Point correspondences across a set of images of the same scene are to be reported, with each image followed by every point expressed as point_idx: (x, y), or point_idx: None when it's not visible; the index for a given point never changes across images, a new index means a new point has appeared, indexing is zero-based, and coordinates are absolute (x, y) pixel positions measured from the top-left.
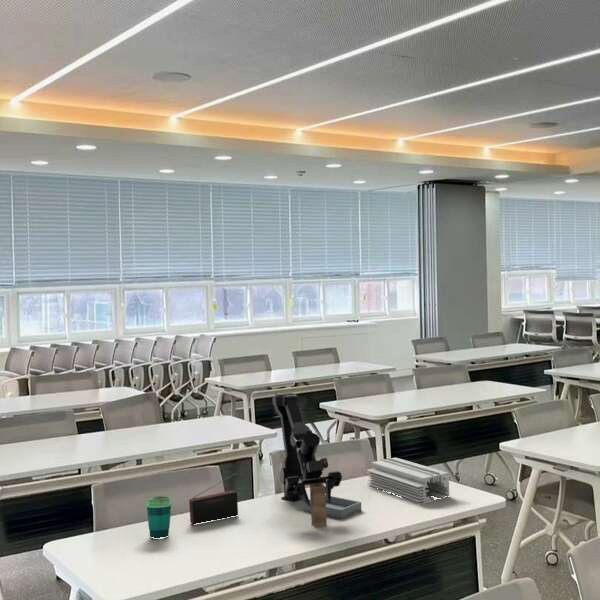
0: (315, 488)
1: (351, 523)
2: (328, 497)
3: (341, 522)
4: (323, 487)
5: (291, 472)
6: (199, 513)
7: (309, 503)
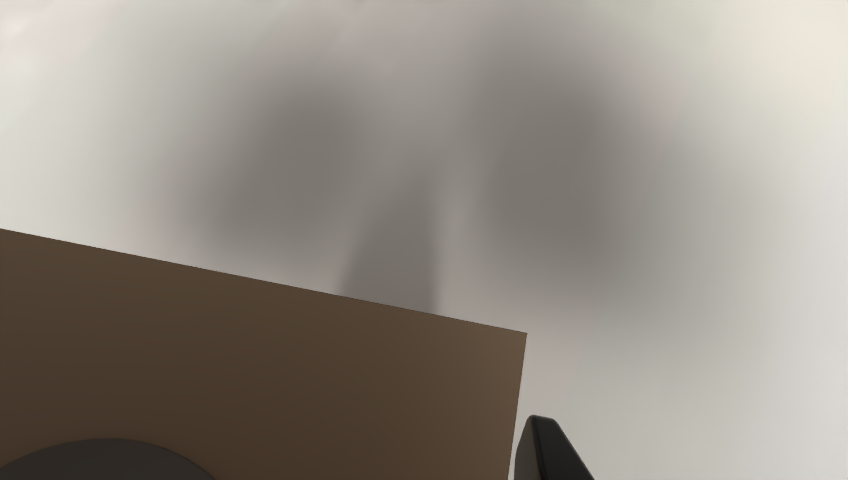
0: (406, 316)
1: None
2: None
3: None
4: (17, 235)
5: None
6: None
7: (540, 427)
